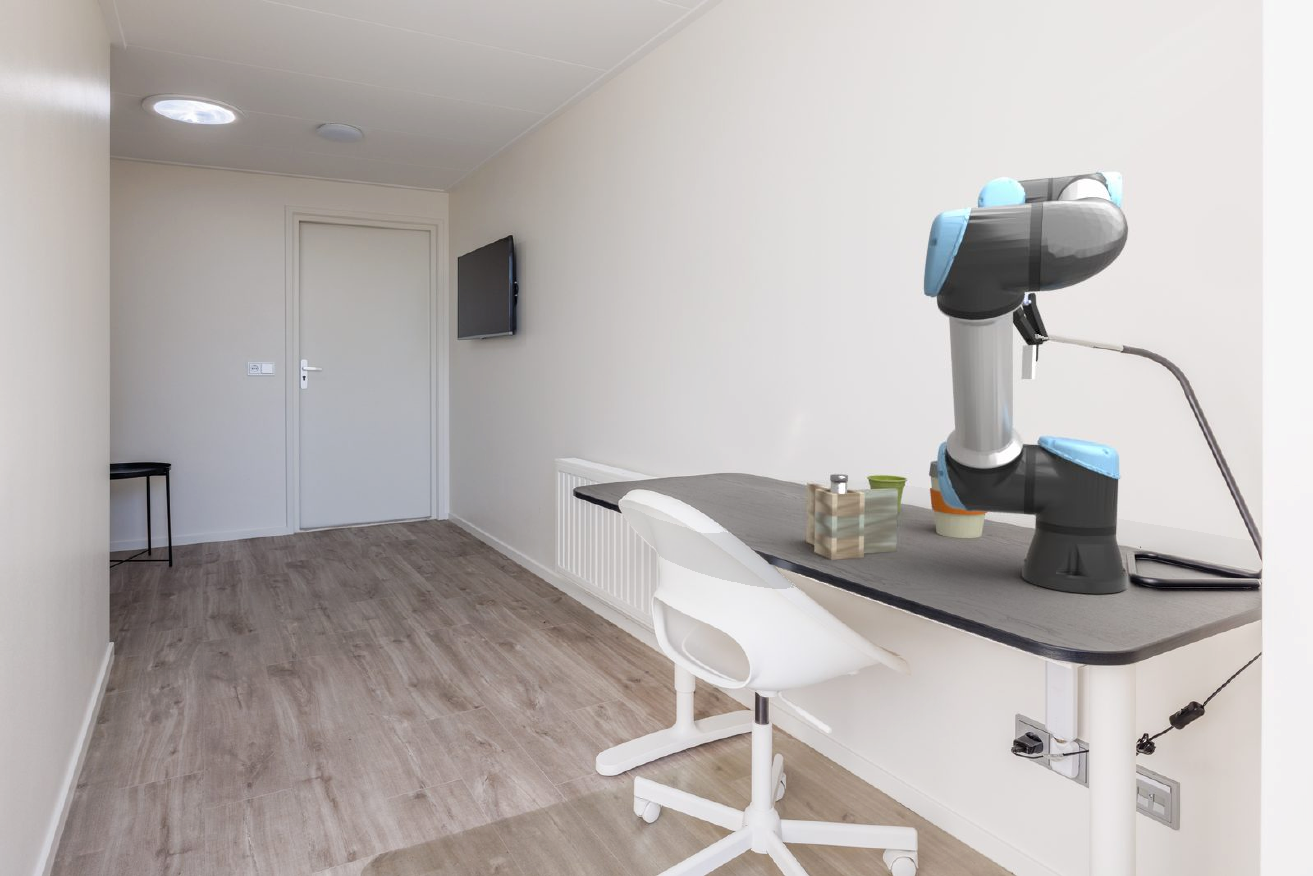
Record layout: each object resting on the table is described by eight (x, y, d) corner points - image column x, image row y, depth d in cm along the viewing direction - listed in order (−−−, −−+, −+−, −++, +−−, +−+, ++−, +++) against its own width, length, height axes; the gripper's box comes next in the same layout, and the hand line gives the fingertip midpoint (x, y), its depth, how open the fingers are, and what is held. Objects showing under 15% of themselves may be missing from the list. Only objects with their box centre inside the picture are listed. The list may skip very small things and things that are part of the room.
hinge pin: (849, 556, 146) (851, 476, 145) (834, 557, 145) (835, 476, 144) (841, 552, 149) (842, 474, 148) (826, 553, 148) (827, 474, 147)
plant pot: (906, 510, 194) (907, 475, 193) (906, 517, 185) (907, 481, 184) (867, 508, 197) (867, 474, 196) (865, 515, 188) (866, 479, 187)
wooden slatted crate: (904, 554, 147) (906, 491, 146) (831, 559, 143) (832, 494, 142) (861, 537, 162) (862, 480, 161) (794, 542, 158) (794, 483, 157)
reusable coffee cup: (985, 542, 158) (987, 468, 156) (921, 535, 164) (923, 464, 163) (995, 531, 168) (997, 462, 167) (934, 525, 175) (936, 458, 174)
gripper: (1042, 271, 156) (1037, 378, 158) (933, 267, 149) (930, 379, 151) (1071, 266, 149) (1067, 379, 150) (959, 261, 142) (955, 379, 144)
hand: (998, 379), depth 151 cm, fingers open, 13 cm apart
